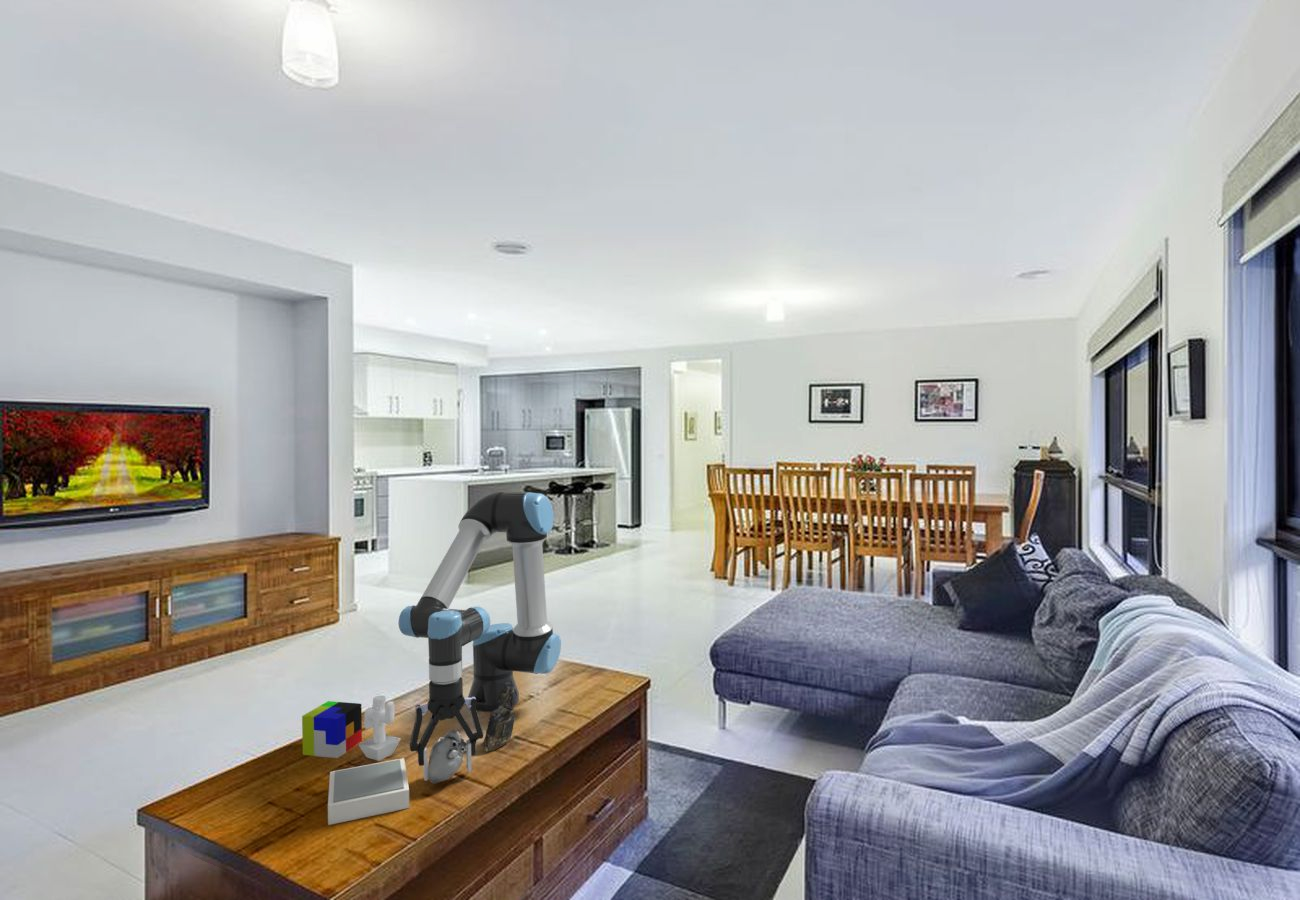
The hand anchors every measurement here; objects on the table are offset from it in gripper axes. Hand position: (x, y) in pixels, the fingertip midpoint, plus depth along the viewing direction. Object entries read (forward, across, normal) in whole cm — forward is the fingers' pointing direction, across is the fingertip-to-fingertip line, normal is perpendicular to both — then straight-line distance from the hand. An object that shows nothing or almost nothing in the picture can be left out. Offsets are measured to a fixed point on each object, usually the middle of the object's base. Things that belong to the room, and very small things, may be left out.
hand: (447, 773), depth 160 cm
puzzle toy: (+2, +25, -30) cm, 39 cm away
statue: (+2, -15, -14) cm, 20 cm away
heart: (+1, +1, 0) cm, 1 cm away
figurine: (+2, +14, -20) cm, 24 cm away
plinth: (+1, +17, +1) cm, 17 cm away
